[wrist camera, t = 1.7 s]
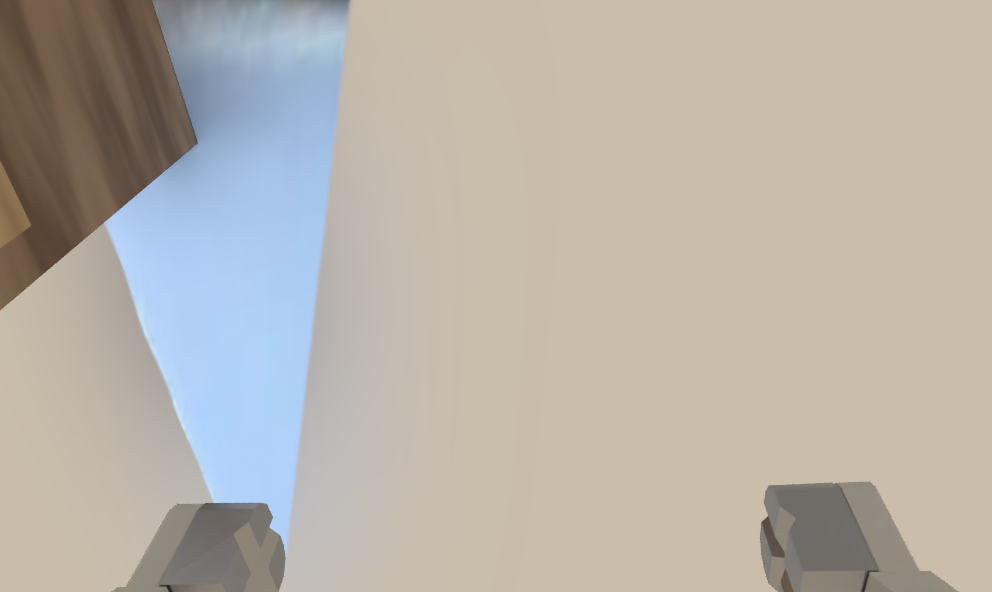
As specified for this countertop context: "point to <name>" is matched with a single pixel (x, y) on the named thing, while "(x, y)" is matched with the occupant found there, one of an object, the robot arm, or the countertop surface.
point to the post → (81, 121)
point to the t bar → (10, 211)
